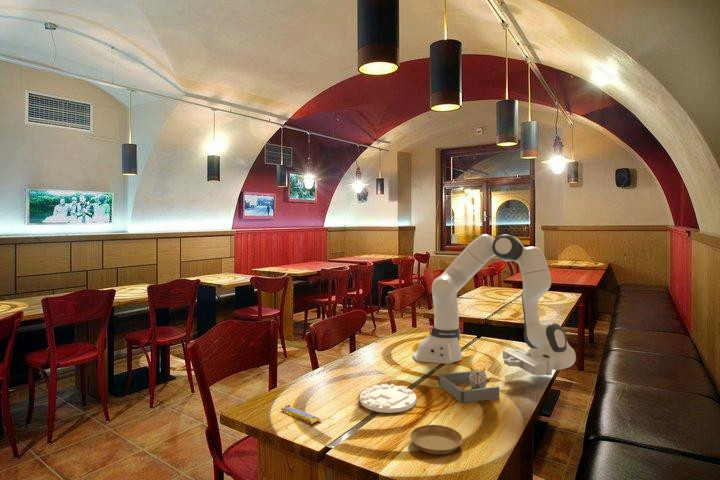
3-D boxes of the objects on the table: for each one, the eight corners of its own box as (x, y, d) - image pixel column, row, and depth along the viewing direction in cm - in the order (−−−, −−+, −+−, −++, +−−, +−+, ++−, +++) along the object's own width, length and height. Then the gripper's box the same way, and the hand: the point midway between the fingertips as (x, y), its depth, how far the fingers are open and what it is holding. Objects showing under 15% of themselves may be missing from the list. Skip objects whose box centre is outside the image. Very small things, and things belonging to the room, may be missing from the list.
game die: (481, 398, 165) (495, 376, 166) (480, 398, 157) (495, 375, 158) (460, 383, 169) (475, 361, 170) (459, 383, 161) (474, 360, 162)
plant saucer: (404, 453, 120) (404, 444, 120) (416, 429, 134) (416, 421, 134) (458, 463, 115) (458, 453, 115) (465, 437, 129) (465, 428, 129)
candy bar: (279, 412, 147) (279, 407, 147) (289, 408, 151) (289, 403, 151) (313, 427, 136) (313, 421, 136) (322, 423, 140) (322, 417, 139)
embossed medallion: (377, 420, 141) (377, 411, 141) (350, 398, 159) (350, 390, 158) (427, 406, 150) (427, 398, 150) (397, 387, 168) (396, 379, 168)
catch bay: (473, 380, 174) (473, 370, 173) (499, 398, 156) (499, 387, 156) (438, 384, 169) (438, 374, 169) (461, 403, 152) (461, 391, 152)
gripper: (520, 344, 182) (491, 346, 178) (554, 360, 162) (522, 363, 158) (520, 359, 182) (491, 362, 178) (554, 376, 162) (522, 380, 159)
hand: (506, 362), depth 168 cm, fingers closed
